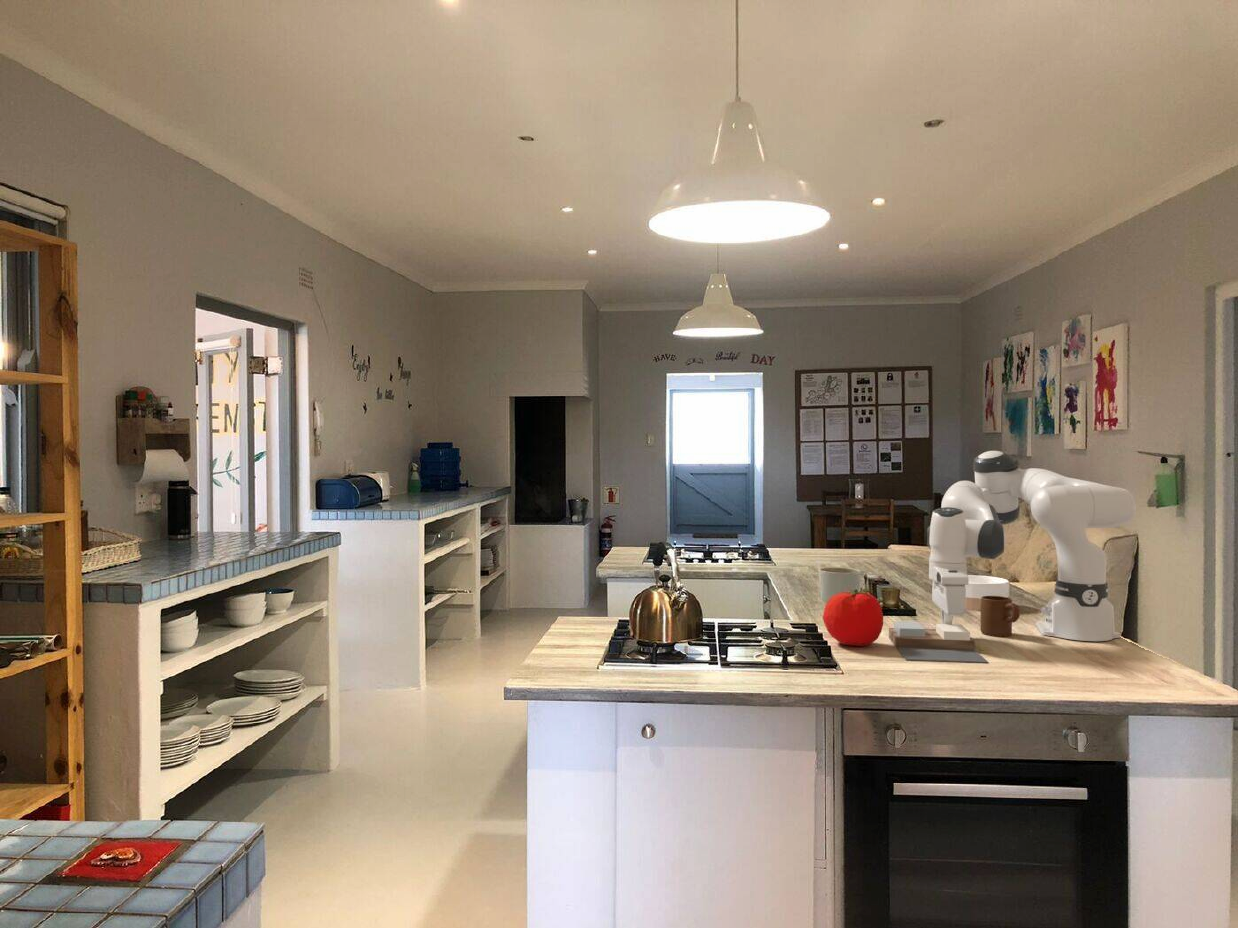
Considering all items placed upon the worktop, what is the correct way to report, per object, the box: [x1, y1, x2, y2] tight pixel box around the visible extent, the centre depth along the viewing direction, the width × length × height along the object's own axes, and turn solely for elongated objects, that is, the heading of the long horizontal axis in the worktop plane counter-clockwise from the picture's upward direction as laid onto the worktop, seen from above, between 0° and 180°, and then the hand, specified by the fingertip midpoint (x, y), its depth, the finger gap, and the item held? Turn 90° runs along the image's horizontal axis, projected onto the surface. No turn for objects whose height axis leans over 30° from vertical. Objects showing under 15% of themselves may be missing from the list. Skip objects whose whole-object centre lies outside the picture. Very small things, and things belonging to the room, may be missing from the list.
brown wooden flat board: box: [888, 627, 976, 651], centre depth 221 cm, size 12×18×2 cm, turn 82°
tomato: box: [822, 588, 884, 647], centre depth 220 cm, size 16×14×14 cm
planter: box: [818, 566, 862, 605], centre depth 273 cm, size 12×12×11 cm
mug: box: [980, 596, 1021, 637], centre depth 231 cm, size 12×8×9 cm, turn 16°
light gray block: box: [893, 620, 926, 637], centre depth 222 cm, size 9×6×2 cm, turn 172°
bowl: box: [964, 574, 1010, 612], centre depth 273 cm, size 17×17×8 cm
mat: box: [896, 647, 989, 664], centre depth 209 cm, size 12×18×1 cm, turn 82°
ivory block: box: [935, 623, 971, 640], centre depth 218 cm, size 9×6×2 cm, turn 172°
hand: (946, 627), depth 224 cm, fingers closed
